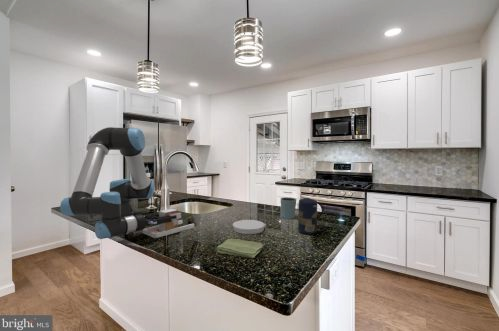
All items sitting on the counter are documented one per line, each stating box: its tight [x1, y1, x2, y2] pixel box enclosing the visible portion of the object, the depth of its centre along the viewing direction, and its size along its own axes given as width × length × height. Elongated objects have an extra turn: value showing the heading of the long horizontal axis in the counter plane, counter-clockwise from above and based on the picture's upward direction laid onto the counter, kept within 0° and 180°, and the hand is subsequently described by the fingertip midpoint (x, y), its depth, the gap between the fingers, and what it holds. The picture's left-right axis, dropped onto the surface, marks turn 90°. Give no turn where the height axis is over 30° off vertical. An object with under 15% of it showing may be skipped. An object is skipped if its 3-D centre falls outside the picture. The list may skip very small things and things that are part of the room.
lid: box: [232, 219, 267, 235], centre depth 132 cm, size 17×20×3 cm
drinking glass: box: [280, 196, 297, 220], centre depth 156 cm, size 10×10×12 cm
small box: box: [158, 208, 179, 232], centre depth 127 cm, size 8×6×10 cm
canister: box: [297, 197, 318, 235], centre depth 126 cm, size 10×10×18 cm
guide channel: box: [142, 219, 195, 239], centre depth 128 cm, size 12×23×2 cm, turn 140°
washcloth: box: [215, 238, 265, 259], centre depth 102 cm, size 13×18×3 cm
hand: (177, 214), depth 131 cm, fingers closed on small box, 6 cm apart
